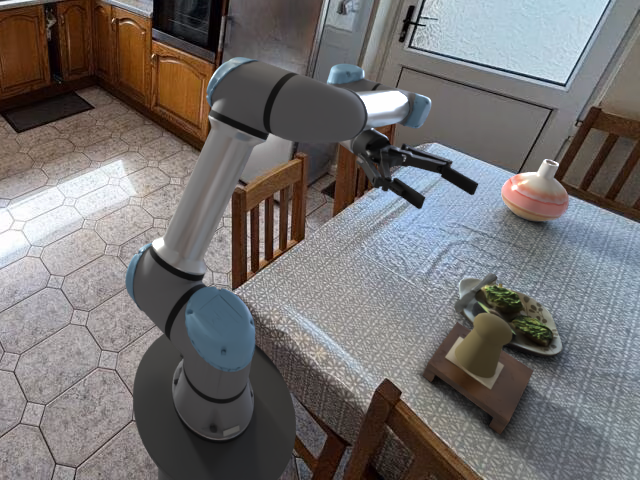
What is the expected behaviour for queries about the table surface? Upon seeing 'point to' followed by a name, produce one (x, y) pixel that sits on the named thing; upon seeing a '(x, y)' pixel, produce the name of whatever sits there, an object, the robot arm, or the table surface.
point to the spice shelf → (481, 379)
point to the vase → (536, 194)
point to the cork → (484, 345)
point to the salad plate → (511, 314)
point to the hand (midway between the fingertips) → (449, 196)
